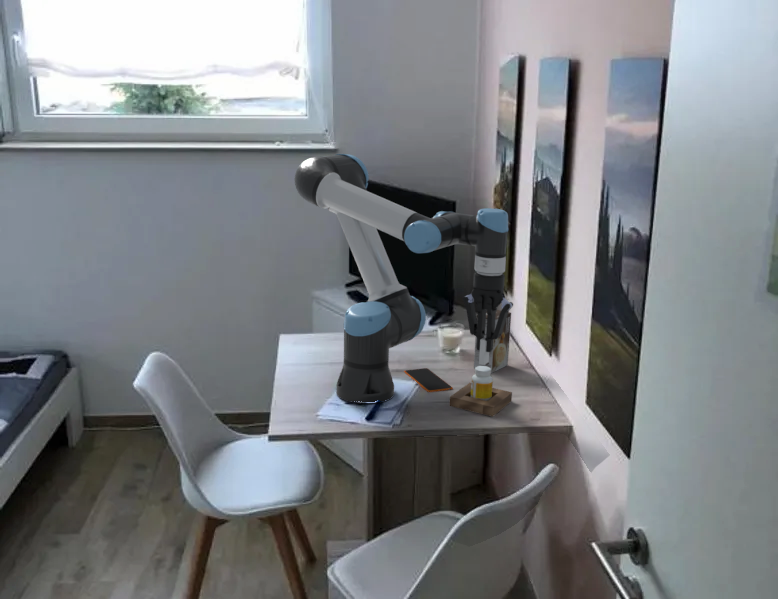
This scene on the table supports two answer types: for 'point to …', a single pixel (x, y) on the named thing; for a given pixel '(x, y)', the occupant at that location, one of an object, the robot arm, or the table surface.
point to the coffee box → (496, 346)
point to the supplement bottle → (482, 383)
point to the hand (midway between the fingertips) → (483, 362)
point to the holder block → (480, 401)
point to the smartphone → (428, 380)
